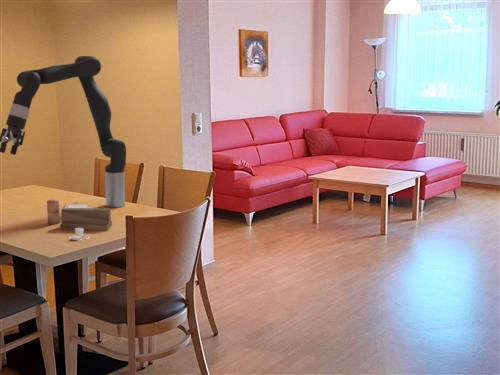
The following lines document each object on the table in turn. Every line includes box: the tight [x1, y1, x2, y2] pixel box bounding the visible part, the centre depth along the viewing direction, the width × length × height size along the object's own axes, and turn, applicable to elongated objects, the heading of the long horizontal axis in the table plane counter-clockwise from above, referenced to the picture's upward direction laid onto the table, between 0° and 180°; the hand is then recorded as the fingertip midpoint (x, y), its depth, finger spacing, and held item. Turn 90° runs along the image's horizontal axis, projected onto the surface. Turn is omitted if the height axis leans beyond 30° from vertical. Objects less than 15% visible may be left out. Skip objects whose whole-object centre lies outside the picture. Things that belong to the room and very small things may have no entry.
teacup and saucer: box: [68, 228, 91, 241], centre depth 249 cm, size 9×8×4 cm
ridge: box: [59, 207, 113, 231], centre depth 264 cm, size 9×20×8 cm, turn 91°
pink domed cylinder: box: [46, 199, 61, 225], centre depth 271 cm, size 5×5×10 cm
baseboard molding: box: [60, 201, 88, 223], centre depth 289 cm, size 31×3×12 cm
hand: (7, 153), depth 259 cm, fingers open, 8 cm apart
